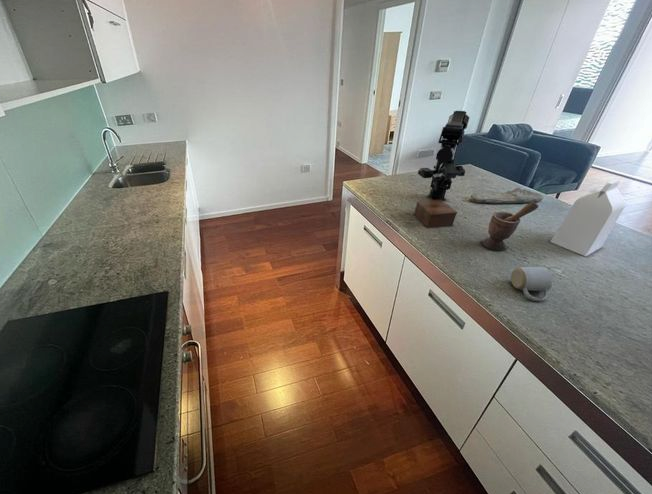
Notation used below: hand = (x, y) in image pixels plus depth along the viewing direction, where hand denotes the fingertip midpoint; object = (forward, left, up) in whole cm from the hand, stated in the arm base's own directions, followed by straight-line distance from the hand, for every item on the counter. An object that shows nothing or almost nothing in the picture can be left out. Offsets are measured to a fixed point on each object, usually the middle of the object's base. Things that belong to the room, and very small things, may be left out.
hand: (436, 190), depth 133 cm
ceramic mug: (-4, +55, -12) cm, 56 cm away
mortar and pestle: (-12, +30, -12) cm, 35 cm away
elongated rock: (-44, -8, -12) cm, 46 cm away
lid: (+2, +6, -6) cm, 9 cm away
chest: (+2, +6, -12) cm, 14 cm away
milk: (-42, +33, -12) cm, 55 cm away
